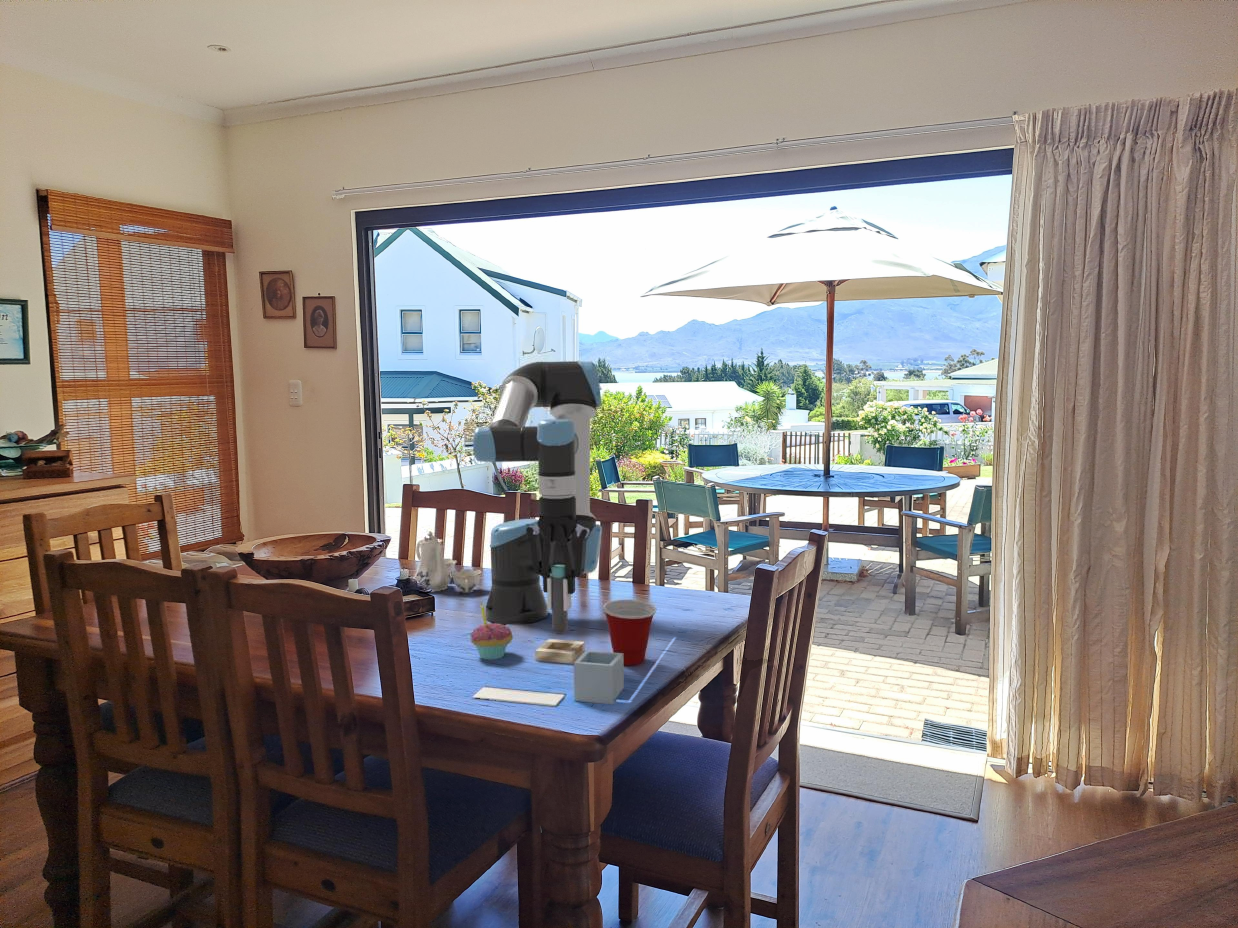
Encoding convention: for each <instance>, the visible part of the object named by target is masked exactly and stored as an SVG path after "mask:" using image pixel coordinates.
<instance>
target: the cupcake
mask: <svg viewBox="0 0 1238 928" xmlns="http://www.w3.org/2000/svg"><path fill="white" fill-rule="evenodd" d="M479 603H480V611H481V617H482V621H483V624H482V625H479V626H477V627H476V628H474V630H473V631H472V632H471V634H470V642H471V643H472V644H473V645H474V646H475V648H476V650H477V652H478V655H479V658H480V659H483V660H497V659H500V658H503V657H504V656H505V653H506V649H507V647H508V644H510V643H512V640H513V639H514V637H513V633H512V631H511V628H509V627H508V626H506V625H505V624H500V623H494V622H490V623H488V622H487V621H488V620H487V619H486V616H485V606H484V605H483V604H482V601H480V602H479Z"/></svg>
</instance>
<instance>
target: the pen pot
mask: <svg viewBox="0 0 1238 928" xmlns="http://www.w3.org/2000/svg"><path fill="white" fill-rule="evenodd" d="M624 667H625V666H624V664H623V653H613V651H612V652H611V651H610V652H609V651H600V650H599V651H598V650H586V649H585V652H584V653H583V654H582V655H581V656H580V657H579V658H578V659H577V660H576V661H575V662H574V663H573V691H574V692H573V694H574V701H575V702H582V703H583V702H585V703H594V704H604V705H605V704H606V705H614V704H615V703H616V701H617V700H618V698H617V697H618V696H619V695H620V693H621V692H622V691H623V689H624V685H625V684H624V683H625V680H624V679H625V678H624V675H625V674H624V672H625V671H624Z"/></svg>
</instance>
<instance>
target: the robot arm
mask: <svg viewBox="0 0 1238 928" xmlns="http://www.w3.org/2000/svg"><path fill="white" fill-rule="evenodd" d="M600 386H601V385H600V381H599V373H598V367H597V365H596V364H595V363H594V362H593V361H584V360H583V361H580V360H577V361H573V360H572V361H569V360H568V361H535V362H530V363H526V364H525V365H522V366H520V367H518V368H517V369H515V370H513V371H512V372H511V373H509V374H508V375H507V376H506V377H505V379H504V380H502V383H501V385H500V387H499V392H498V395H499V402H498V404H497V406H496V409H495V412H494V413H493V417H492V418H491V422H490V423H489V426H488V425H485V426H479V427H478V426H477V427H476V428H475V429H474V432H473V436H472V449H473V450H472V451H473V455H474V458H475V460H477V461H478V462H481V463H482V462H486V463H487V462H489V463H510V462H511V463H514V462H519V463H520V462H538V464H537V465H538V473H537V474H538V476H537V477H538V479H537V480H538V494H539V495H540V496H539V498H538V513H539V515H538V516H539V517H538V519H536V518H522V519H517V520H516V519H515V520H509V521H506V522H505V521H504V522H502V523H499V524H496V525H495V526H494V527H493V528H492V529H491V531H490V543H489V548H490V566H491V570H490V571H491V586H490V587H491V588H490V591H489V594H488V598H487V600H486V604H485V606H484V610H485V616H486V621H489V622H490V623H498V624H502V625H508V624H530V623H531V624H532V623H534V622H538V621H542V620H544V619H546V618H547V617H548V616H549V615H548V614H549V613H548V611H549V610H550V611H552V577H551V566H553V565H565V570H566V576H567V577H565V579H563V600H564V611H567V612H568V611H569V610H570V609H572V595H574V593H575V592H576V578H577V577H580V576H581V575H583V574H590V573H593V572H594V571H596V570H597V567H598V563H599V558H600V554H601V553H600V551H601V545H602V534H603V533H602V532H603V526H602V525H600V524H599V523H597V517H595V515H594V514H593V513H592V512H591V509H590V508H591V419H592V418H593V417H595V416H596V414H597V408H600V407H602V405H603V404H602V403H603V402H602V395H601V389H600ZM533 408H550V410H549V411H550V412H549V413H550V415H551V417H553V419H550V418H549V419H542V420H540V421H539V422H538V423H537V425H536V426H535V425H534V426H533V425H532V426H529V425H528V426H526V424H527V420H528V418H529V415H530V412H531V410H532V409H533ZM540 577H542V586H541V578H540ZM544 593H545V594H546V593H547V595H546V596H547V601H546V598H545V595H544Z"/></svg>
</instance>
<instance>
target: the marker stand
mask: <svg viewBox="0 0 1238 928" xmlns="http://www.w3.org/2000/svg"><path fill="white" fill-rule="evenodd" d="M585 651H586V643H585V641H579V640H578V641H577V640H567V639H566V640H563V639H554V638H553V639H551V638H549V639H547V640H546V641H545V642H543V643H542V644H541V645H539V647H538V648H537V649H535V651H534V655H535V656H534V659H535V660H534V661H539V662H548V663H558V664H560V663H561V664H562V663H563V664H573V665H574V662H575V661H576V660H577V659H578V658H579V657H580V656H581V655H582V654H583V653H584V652H585Z"/></svg>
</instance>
